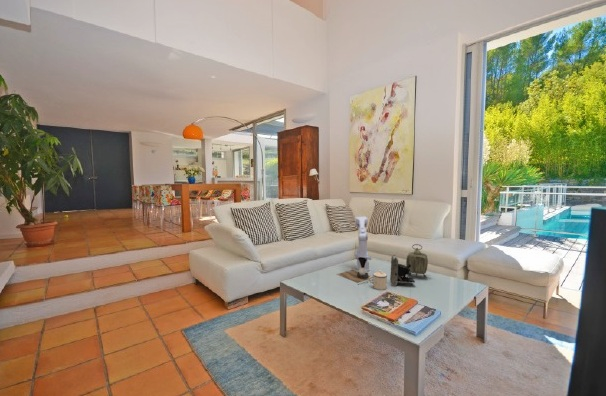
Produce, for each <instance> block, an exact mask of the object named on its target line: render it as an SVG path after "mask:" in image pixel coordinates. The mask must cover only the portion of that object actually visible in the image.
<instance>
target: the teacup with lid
mask: <svg viewBox="0 0 606 396" xmlns="http://www.w3.org/2000/svg"><path fill="white" fill-rule="evenodd" d="M369 276H370V277H369V279H368V282H369V283H370V284H372V285H373V286H372V287H373V288H374V289H375V290H382V291H383V290H386V289H387V277H388V275H387V273H385V272H383V271H382V270H380V269H379V270H378V271H376V272H374V273H373V274H372V275H369ZM371 277H372V278H371ZM370 278H371V279H372V280H371V279H370ZM370 280H371V281H370Z"/></svg>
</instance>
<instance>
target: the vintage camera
mask: <svg viewBox="0 0 606 396" xmlns="http://www.w3.org/2000/svg"><path fill="white" fill-rule="evenodd" d="M390 260H391V261H390V262H391V263H390V276H389V277H390V278H389V279H390V283H391V285H392V286H393V287H396V286H397V285H398V282H399V283H416V281H415V279H414V277H412V276H411V277H410V276H409V273H410V269H409V267H411V265H410V264H408V265H409V266H406V264H401V263H399V259H398V257H397V255H396V254H393V255H391V259H390Z"/></svg>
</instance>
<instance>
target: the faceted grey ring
mask: <svg viewBox="0 0 606 396" xmlns="http://www.w3.org/2000/svg"><path fill="white" fill-rule="evenodd" d="M368 275H369V273H368V272H366V275H360V274H359V271H358V273H357V277H358V278H361V279H367V278H368Z"/></svg>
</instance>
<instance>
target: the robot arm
mask: <svg viewBox="0 0 606 396" xmlns="http://www.w3.org/2000/svg"><path fill="white" fill-rule="evenodd" d="M354 220H355V221H354V222H355V227H356V228H357V229H358V236H357V237H358V248H356V249H355V253H354V257H355V260H356V271H357V270H358V271H359V267H361V268H364V267H366V272H368V271H370V262H369V261H371V260H372V256H370V255H369V252H368V238H369V237H368V236H369V235H368V232H367V227H368V223H369V222H368V220H369V219H368V216H355V219H354Z"/></svg>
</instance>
